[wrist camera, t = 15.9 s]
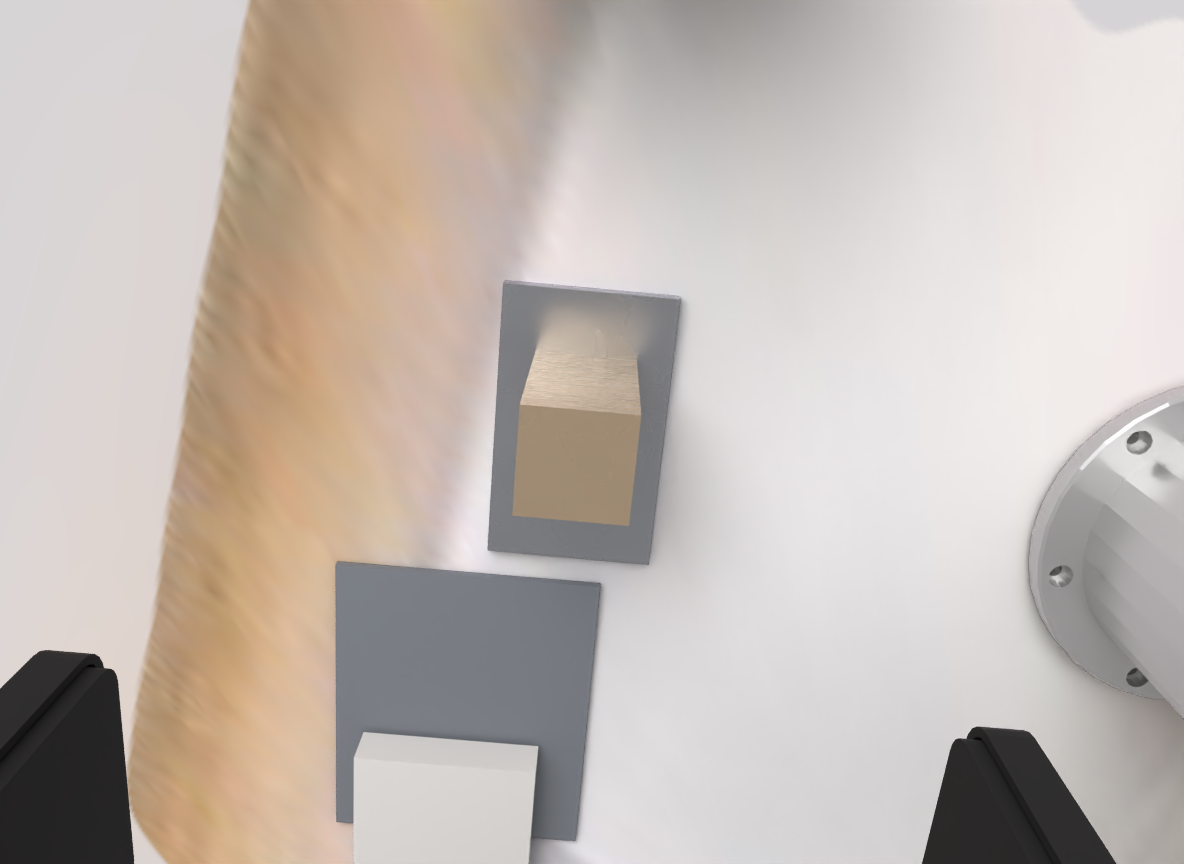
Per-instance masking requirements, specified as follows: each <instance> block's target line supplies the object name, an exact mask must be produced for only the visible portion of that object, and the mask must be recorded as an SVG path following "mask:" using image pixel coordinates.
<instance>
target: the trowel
mask: <svg viewBox="0 0 1184 864" xmlns="http://www.w3.org/2000/svg"><path fill="white" fill-rule="evenodd" d="M680 300H681V299H680V296H675V295H664V294H653V293H642V292H631V291H620V290H609V289H598V288H587V287H576V286H565V285H554V284H543V283H532V282H521V281H510V280H505V281H504V283H503V295H502V312H501V329H500V346H499V363H498V380H497V397H496V414H495V431H494V448H493V465H492V483H491V500H490V517H489V534H488V550H491V551H502V552H513V553H524V554H535V555H547V556H558V557H569V558H580V559H591V560H603V561H614V562H625V563H636V564H647V565H649V558H650V550H651V541H652V533H653V525H654V516H655V508H656V500H657V491H658V483H659V475H660V466H661V458H662V450H663V442H664V433H665V425H666V417H667V408H668V400H669V392H670V383H671V375H672V367H673V358H674V350H675V342H676V333H677V325H678V317H679V308H680Z"/></svg>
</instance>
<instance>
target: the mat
mask: <svg viewBox="0 0 1184 864" xmlns="http://www.w3.org/2000/svg"><path fill="white" fill-rule="evenodd" d="M599 595H600V583H591V582H579V581H567V580H555V579H544V578H532V577H520V576H508V575H496V574H484V573H472V572H460V571H448V570H436V569H424V568H412V567H400V566H388V565H376V564H364V563H352V562H340V561H337V563H336V822H342V823H354V756H355V753H356V751H357V748H358V746H359V743H360V740H361V738H362V735H363V732H370V733H382V734H394V735H406V736H419V737H431V738H443V739H455V740H468V741H480V742H492V743H504V744H516V745H529V746H538V758H537V771H536V783H535V796H534V808H533V821H532V833H531V838H542V839H554V840H567V841H575V839H576V829H577V819H578V809H579V798H580V788H581V778H582V768H583V758H584V748H585V737H586V727H587V717H588V707H589V697H590V686H591V676H592V666H593V656H594V646H595V635H596V625H597V615H598V605H599Z"/></svg>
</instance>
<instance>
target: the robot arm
mask: <svg viewBox="0 0 1184 864" xmlns="http://www.w3.org/2000/svg"><path fill="white" fill-rule="evenodd" d="M1131 435H1132V436H1131ZM1130 436H1131V437H1130ZM1129 437H1130V438H1129ZM1128 438H1129V439H1128ZM1029 572H1030V583H1031V590H1032V594H1033V597H1034V600H1035V603H1036V606H1037V609H1038V612H1039V615H1040V616H1041V618H1042V620H1043V621H1044V623H1045V625H1046V626H1047V628H1048V629H1049V631H1050V633H1051V634H1052V636H1053V638H1054V639H1055V640H1056V641H1057V642H1058V643H1059V645H1060V646H1061V647H1062V648H1063V649H1064V650H1065V652H1066V653H1067V654H1068V655H1069V657H1070V658H1071V659H1072V660H1073V661H1074V662H1076V663H1077V664H1078V665H1079V666H1081V667H1082V668H1083V669H1084V670H1085V671H1087V672H1088V673H1089V674H1090V675H1092V676H1093V677H1095V678H1096V679H1098V680H1100V681H1102V682H1104V683H1106V684H1108V685H1110V686H1112V687H1114V688H1116V689H1118V690H1121V691H1124V692H1128V693H1131V694H1135V695H1138V696H1142V697H1145V698H1151V699H1160V700H1167V701H1168V702H1169V704H1170V705H1171V706H1172V707H1173V708H1174V709H1175V710H1176V711H1177V712H1178V713H1179V715H1180V716H1181V717H1182V718H1183V719H1184V386H1181V387H1177V388H1173V389H1171V390H1168V391H1166V392H1164V393H1161V394H1159V395H1157V396H1154V397H1152V398H1150V399H1147V400H1145V401H1143V402H1140V403H1138V404H1137V405H1135V406H1133V407H1132V408H1130V409H1129V410H1127V411H1125V412H1124V413H1122V414H1121V415H1119V416H1117V417H1116V418H1114V419H1113V420H1111V421H1110V422H1108V423H1107V424H1106V425H1104V426H1103V427H1102V428H1101V429H1100V430H1099V431H1098V432H1096V433H1095V434H1094V435H1093V436H1092V437H1091V438H1090V439H1088V440H1087V441H1086V442H1085V443H1084V444H1083V445H1082V446H1080V448H1079V449H1078V450H1077V451H1076V453H1075V454H1074V455H1073V456H1072V457H1071V459H1070V460H1069V461H1068V462H1067V464H1066V465H1065V466H1064V467H1063V468H1062V470H1061V471H1060V472H1059V473H1058V475H1057V477H1056V479H1055V480H1054V482H1053V484H1052V486H1051V487H1050V489H1049V491H1048V493H1047V495H1046V496H1045V498H1044V500H1043V502H1042V504H1041V507H1040V510H1039V513H1038V516H1037V519H1036V522H1035V525H1034V528H1033V531H1032V537H1031V545H1030V553H1029ZM0 864H134V854H133V843H132V832H131V820H130V809H129V798H128V787H127V776H126V765H125V754H124V743H123V732H122V722H121V710H120V700H119V688H118V680H117V676H116V673H115V672H114V671H113V670H112V669H106V668H104V667H103V663H102V661H101V659H100V657H99V656H97V655H95V654H86V653H75V652H63V651H51V650H44V651H40V652H38V653H37V654H36V655H34V656H33V657H32V658H31V659H30V660H29V661H28V662H27V663H26V664H25V665H24V666H23V667H22V668H21V669H20V670H19V671H18V672H17V673H16V674H15V675H14V676H13V677H12V678H11V679H10V680H9V681H7V682H6V684H4V685H3V686H2V688H1V689H0ZM922 864H1116V862H1115V861H1114V859H1113V858H1112V856H1111V855H1110V853H1109V852H1108V850H1107V848H1106V847H1105V845H1104V844H1103V842H1102V841H1101V839H1100V838H1099V836H1098V835H1097V833H1096V832H1095V830H1094V828H1093V827H1092V825H1091V824H1090V822H1089V821H1088V819H1087V818H1086V816H1085V815H1084V813H1083V812H1082V810H1081V809H1080V807H1079V805H1078V804H1077V802H1076V801H1075V799H1074V798H1073V796H1072V795H1071V793H1070V792H1069V790H1068V789H1067V787H1066V785H1065V784H1064V782H1063V781H1062V779H1061V778H1060V776H1059V775H1058V773H1057V772H1056V770H1055V769H1054V767H1053V765H1052V764H1051V762H1050V761H1049V759H1048V758H1047V756H1046V755H1045V753H1044V752H1043V750H1042V749H1041V747H1040V746H1039V744H1038V742H1037V741H1036V739H1035V738H1034V737H1033V736H1032V735H1031V734H1030V732H1027V731H1024V730H1013V729H1000V728H988V727H975V728H972V730H971V731H970V732H969V734H968V736H967V739H960V738H959V739H956V740H955V741H954V742H953V744H952V747H951V749H950V753H949V757H948V761H947V765H946V769H945V773H944V777H943V781H942V785H941V789H940V793H939V797H938V801H937V805H936V810H935V814H934V818H933V822H932V826H931V830H930V834H929V838H928V842H927V846H926V850H925V854H924V858H923V862H922Z"/></svg>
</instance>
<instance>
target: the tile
mask: <svg viewBox="0 0 1184 864" xmlns="http://www.w3.org/2000/svg"><path fill="white" fill-rule="evenodd" d="M537 758H538V746H529V745H516V744H504V743H492V742H480V741H468V740H455V739H443V738H431V737H419V736H406V735H394V734H382V733H370V732H363V735H362V738H361V740H360V743H359V746H358V748H357V751H356V753H355V756H354V824H353V864H529V858H530V846H531V833H532V821H533V808H534V796H535V783H536V771H537Z"/></svg>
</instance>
